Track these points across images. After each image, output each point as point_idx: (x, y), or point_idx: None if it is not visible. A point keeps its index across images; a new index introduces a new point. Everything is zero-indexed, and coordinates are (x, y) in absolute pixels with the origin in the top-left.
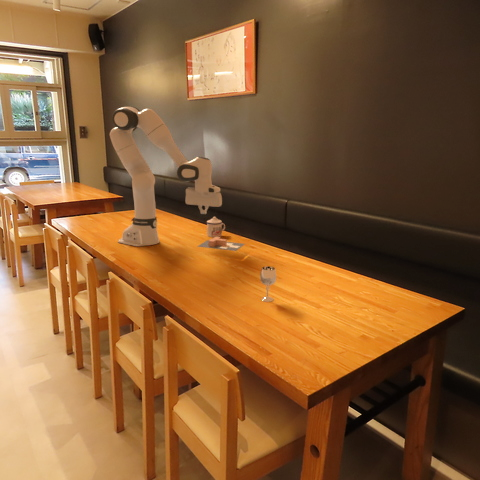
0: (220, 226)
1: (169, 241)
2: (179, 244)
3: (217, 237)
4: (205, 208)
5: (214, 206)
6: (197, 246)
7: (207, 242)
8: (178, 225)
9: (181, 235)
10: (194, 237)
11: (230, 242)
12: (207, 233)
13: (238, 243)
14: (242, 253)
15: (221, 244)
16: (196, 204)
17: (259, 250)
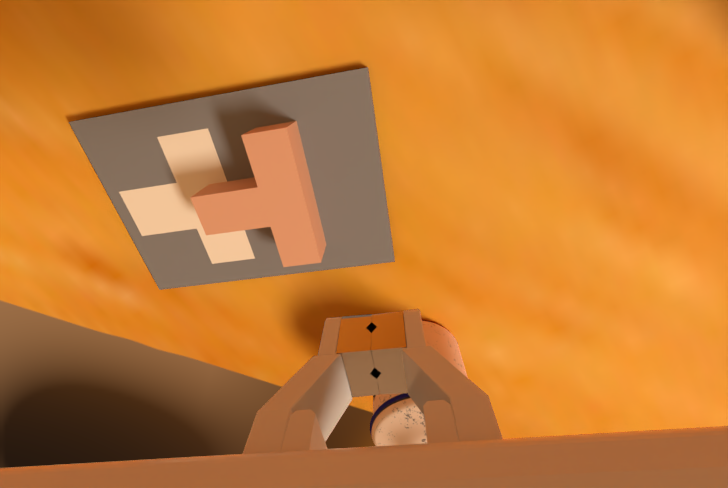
0: (373, 405)
1: (660, 103)
2: (542, 68)
3: (295, 251)
4: (300, 395)
5: (20, 467)
6: (364, 68)
7: (362, 205)
8: None
9: (620, 283)
10: (515, 282)
11: (242, 275)
12: (450, 341)
13: (191, 279)
14: (20, 114)
15: (227, 184)
16: (567, 445)
17: (17, 230)
